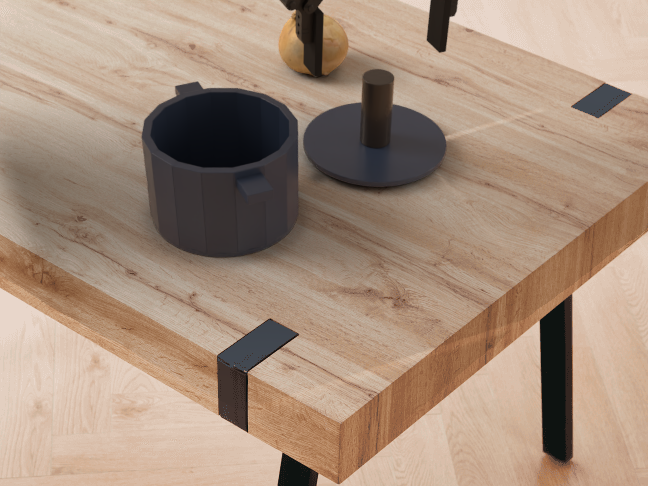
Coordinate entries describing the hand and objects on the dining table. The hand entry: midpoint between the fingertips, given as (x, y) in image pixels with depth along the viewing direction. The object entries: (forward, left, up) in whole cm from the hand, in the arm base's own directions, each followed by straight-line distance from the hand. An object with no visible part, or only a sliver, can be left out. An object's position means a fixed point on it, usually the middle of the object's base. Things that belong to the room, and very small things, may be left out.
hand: (375, 58), depth 106 cm
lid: (0, 0, -10) cm, 10 cm away
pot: (-18, -4, -11) cm, 21 cm away
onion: (+1, +18, -11) cm, 21 cm away
